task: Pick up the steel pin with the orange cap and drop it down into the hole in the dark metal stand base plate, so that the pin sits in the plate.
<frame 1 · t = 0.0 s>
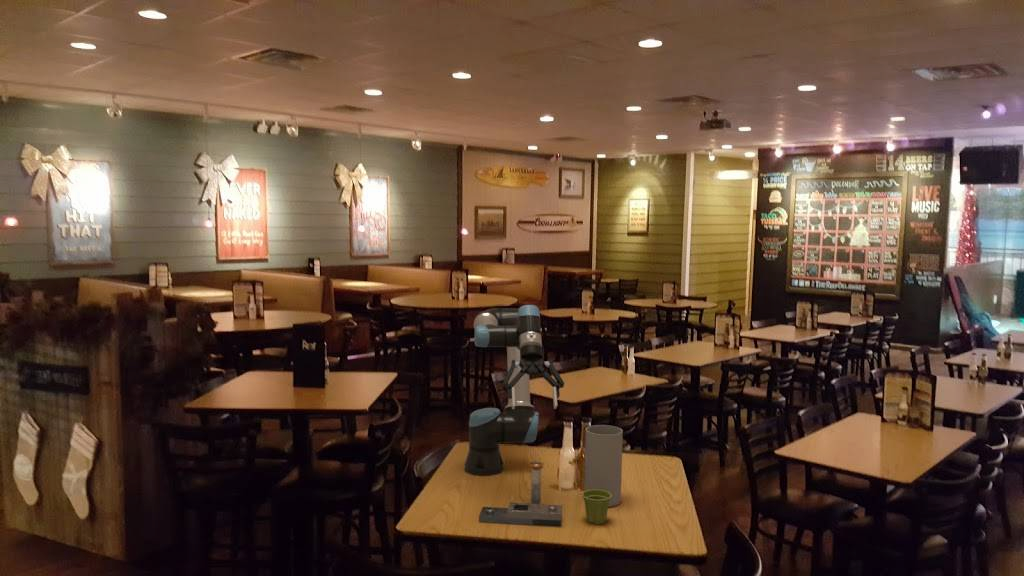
hand: (534, 407, 237), 36 cm above the table, tool tilted 35°, fingers open, 13 cm apart
plant pot: (596, 521, 237), on the table
pin: (535, 504, 251), on the table
stand base plate: (520, 519, 237), on the table
cylinder vase: (602, 501, 254), on the table
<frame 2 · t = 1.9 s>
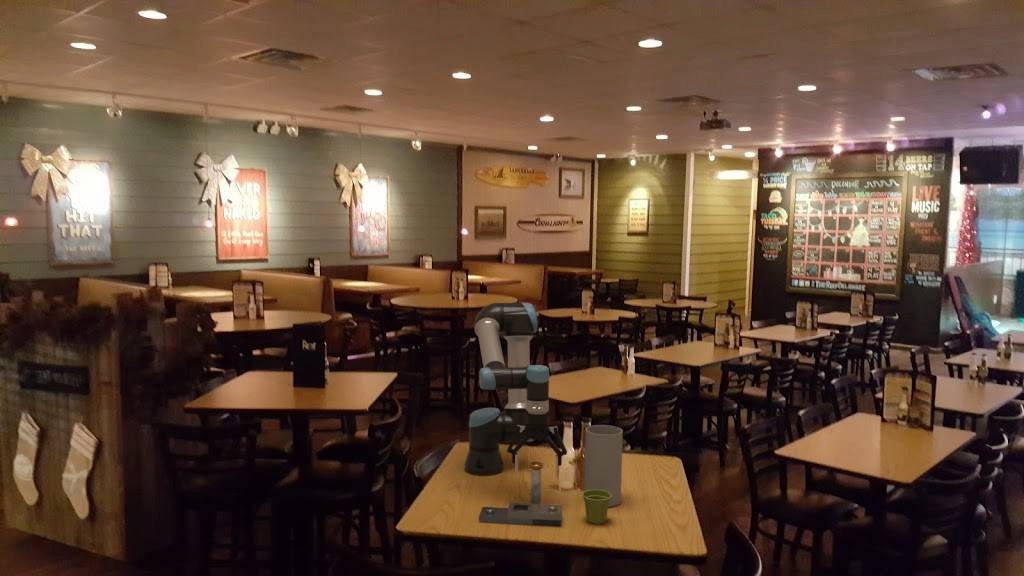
hand: (536, 474, 249), 10 cm above the table, tool pointing down, fingers open, 13 cm apart
nothing on the table moved.
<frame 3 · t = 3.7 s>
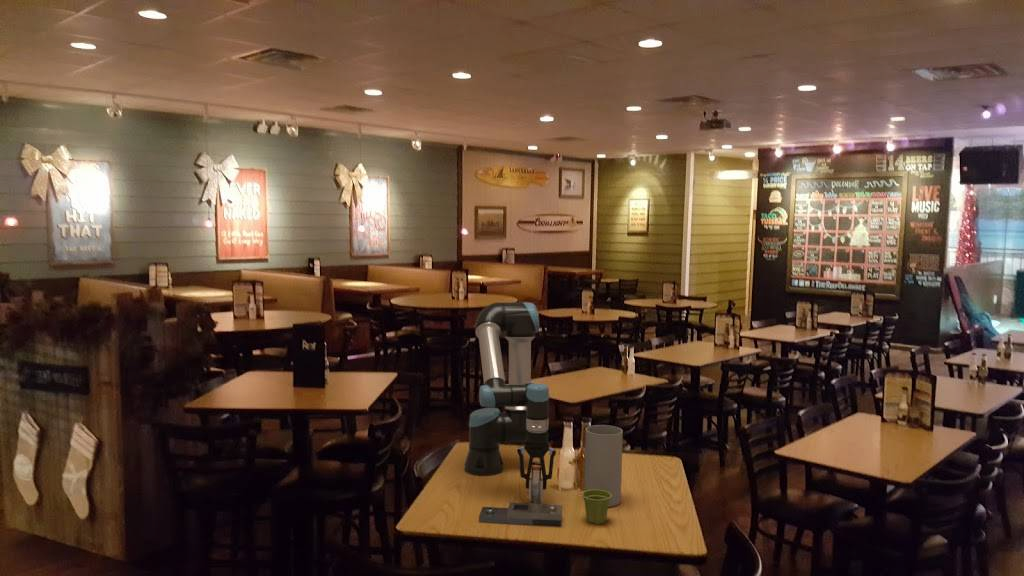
hand: (535, 498, 250), 2 cm above the table, tool pointing down, fingers closed on pin, 3 cm apart
pin: (535, 503, 251), on the table, touching gripper
everything else where it was.
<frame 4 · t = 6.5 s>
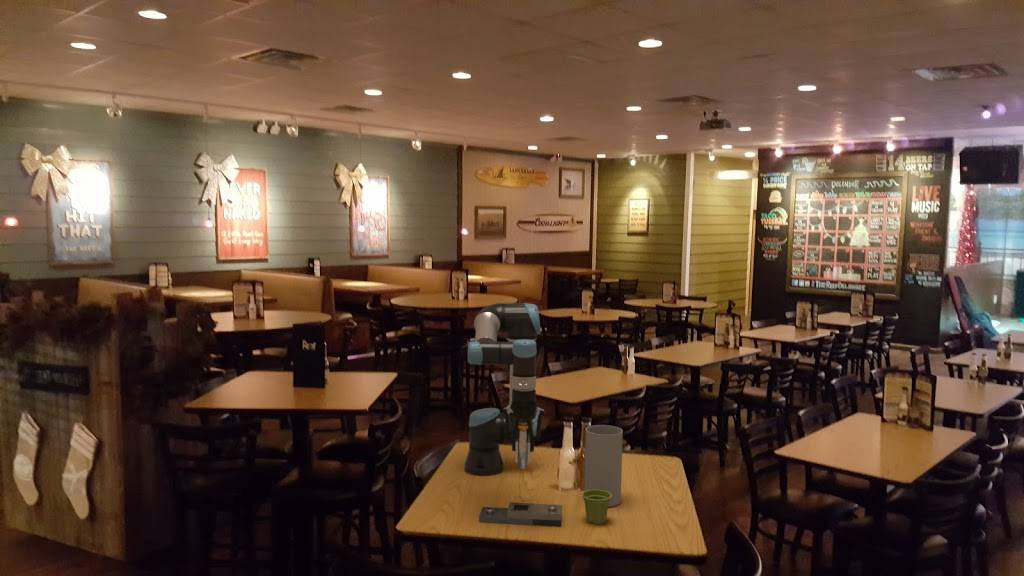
hand: (522, 461, 236), 19 cm above the table, tool pointing down, fingers closed on pin, 3 cm apart
pin: (522, 467, 236), point 17 cm above the table, touching gripper
everything else where it was.
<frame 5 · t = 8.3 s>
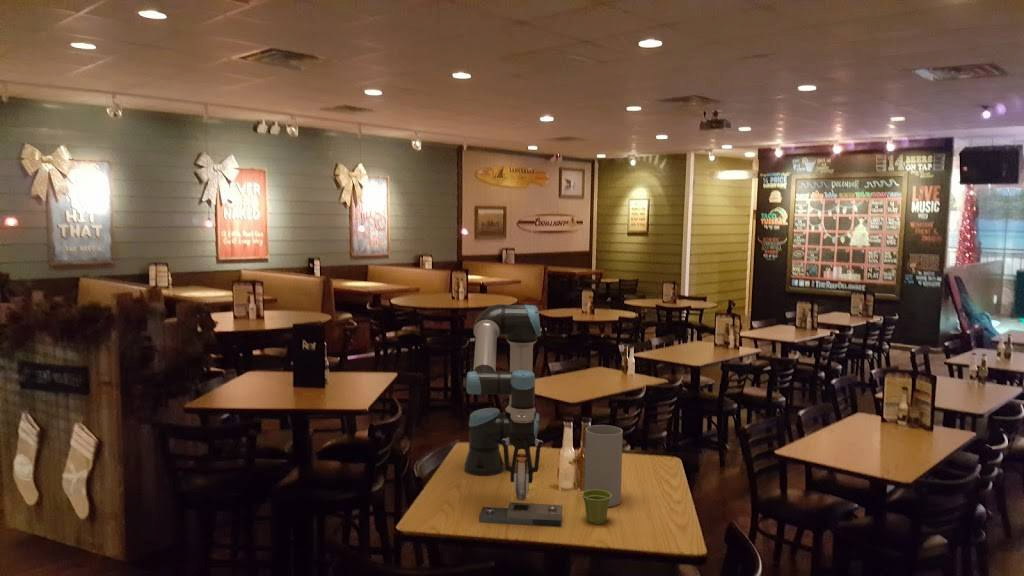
hand: (521, 492, 236), 9 cm above the table, tool pointing down, fingers closed on pin, 3 cm apart
pin: (521, 498, 236), point 7 cm above the table, touching gripper
everything else where it was.
when the fingers open (8 cm above the table, at t = 9.6 s): pin drops 5 cm, resting in stand base plate.
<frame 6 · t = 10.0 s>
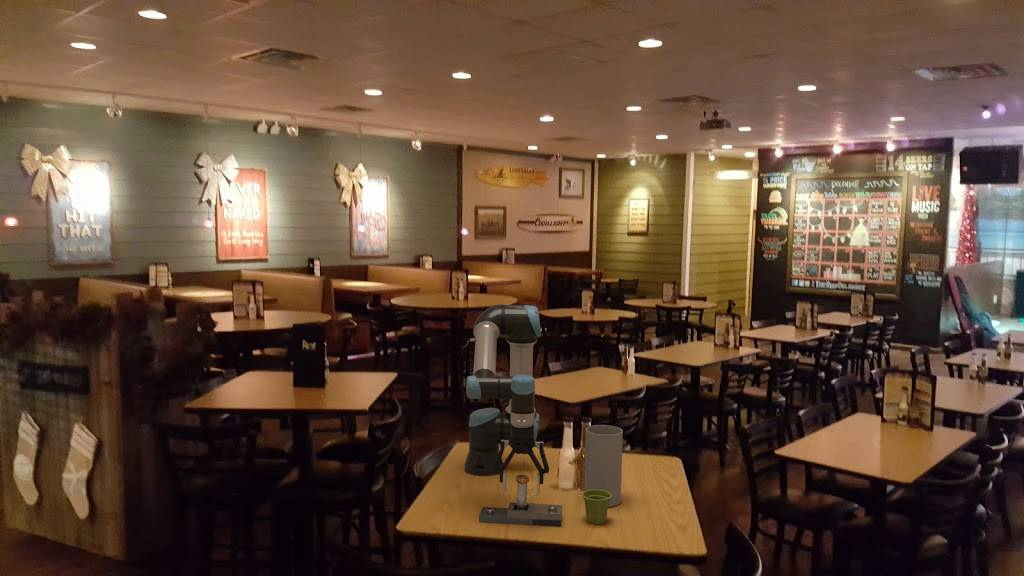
hand: (521, 492, 236), 9 cm above the table, tool pointing down, fingers open, 10 cm apart
pin: (521, 519, 237), resting in stand base plate
everything else where it was.
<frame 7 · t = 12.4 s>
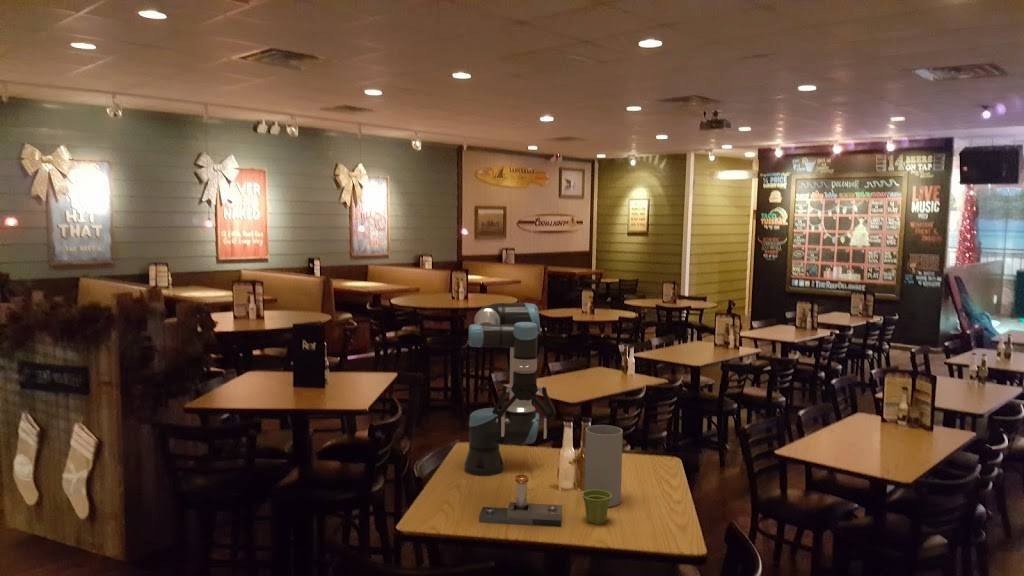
hand: (523, 436, 236), 27 cm above the table, tool pointing down, fingers open, 13 cm apart
nothing on the table moved.
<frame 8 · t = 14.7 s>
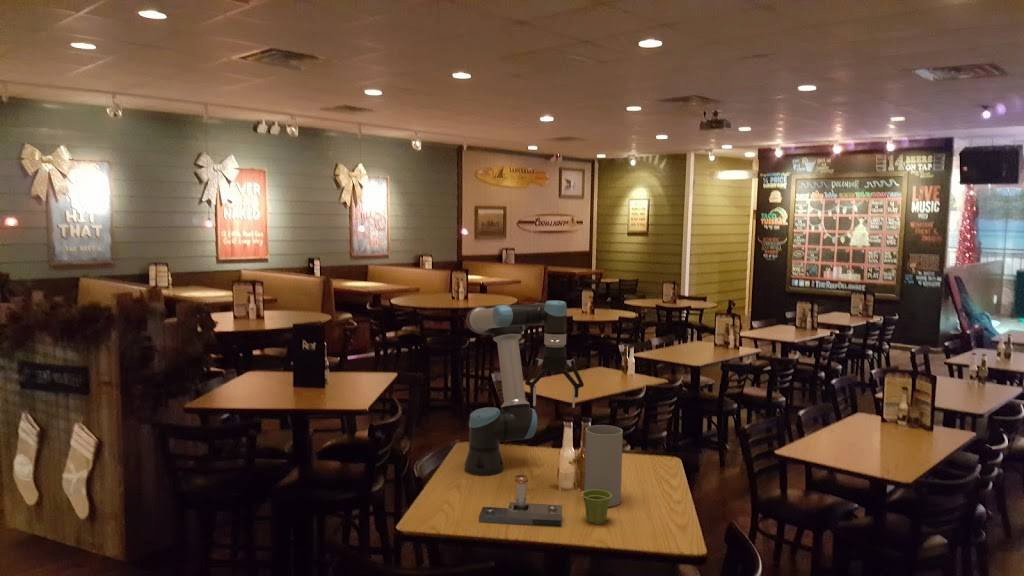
hand: (553, 406, 257), 32 cm above the table, tool pointing down, fingers open, 13 cm apart
nothing on the table moved.
at the end: pin 0.0 cm off-centre on the stand base plate, point 0.0 cm above the stand base plate's base; pin tilted 0°; the gripper is holding nothing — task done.
